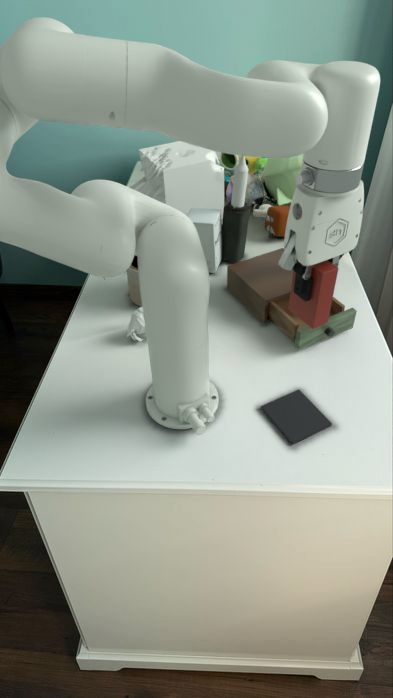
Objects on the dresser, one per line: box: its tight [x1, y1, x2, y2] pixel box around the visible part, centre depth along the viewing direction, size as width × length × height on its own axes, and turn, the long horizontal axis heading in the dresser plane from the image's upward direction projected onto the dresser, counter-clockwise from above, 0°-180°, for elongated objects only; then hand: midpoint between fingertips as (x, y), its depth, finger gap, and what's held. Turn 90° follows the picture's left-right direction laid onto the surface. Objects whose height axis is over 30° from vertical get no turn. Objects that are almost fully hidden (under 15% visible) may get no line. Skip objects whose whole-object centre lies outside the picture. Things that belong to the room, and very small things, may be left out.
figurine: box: [126, 306, 146, 342], centre depth 103 cm, size 7×15×7 cm, turn 122°
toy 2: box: [252, 203, 290, 237], centre depth 132 cm, size 9×7×15 cm
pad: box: [260, 389, 333, 445], centre depth 86 cm, size 9×8×1 cm
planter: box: [125, 255, 142, 307], centre depth 110 cm, size 11×11×10 cm
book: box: [288, 260, 340, 329], centre depth 76 cm, size 6×3×10 cm, turn 30°
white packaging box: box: [187, 208, 223, 274], centre depth 118 cm, size 7×7×13 cm
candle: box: [222, 156, 251, 264], centre depth 115 cm, size 5×5×25 cm
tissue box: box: [128, 140, 225, 220], centre depth 129 cm, size 20×16×25 cm
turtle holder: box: [220, 153, 268, 175], centre depth 154 cm, size 12×18×12 cm
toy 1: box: [260, 154, 303, 206], centre depth 139 cm, size 20×19×15 cm
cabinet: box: [226, 247, 295, 325], centre depth 110 cm, size 15×15×6 cm
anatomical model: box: [225, 173, 265, 211], centre depth 139 cm, size 10×12×10 cm
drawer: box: [267, 295, 358, 351], centre depth 102 cm, size 15×13×4 cm
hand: (311, 291), depth 77 cm, fingers closed on book, 3 cm apart
